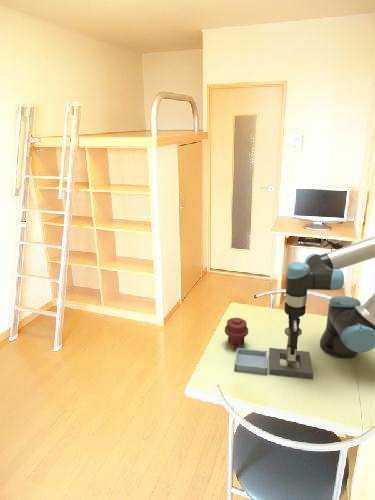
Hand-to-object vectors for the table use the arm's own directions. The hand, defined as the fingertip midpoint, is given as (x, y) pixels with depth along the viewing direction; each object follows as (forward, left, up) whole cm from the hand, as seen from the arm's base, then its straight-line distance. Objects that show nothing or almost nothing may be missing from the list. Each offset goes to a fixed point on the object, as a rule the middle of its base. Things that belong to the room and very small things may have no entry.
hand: (291, 356), depth 139 cm
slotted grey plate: (0, 0, -4) cm, 4 cm away
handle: (0, 0, -3) cm, 3 cm away
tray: (+15, +2, -4) cm, 16 cm away
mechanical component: (+22, -10, -4) cm, 25 cm away
